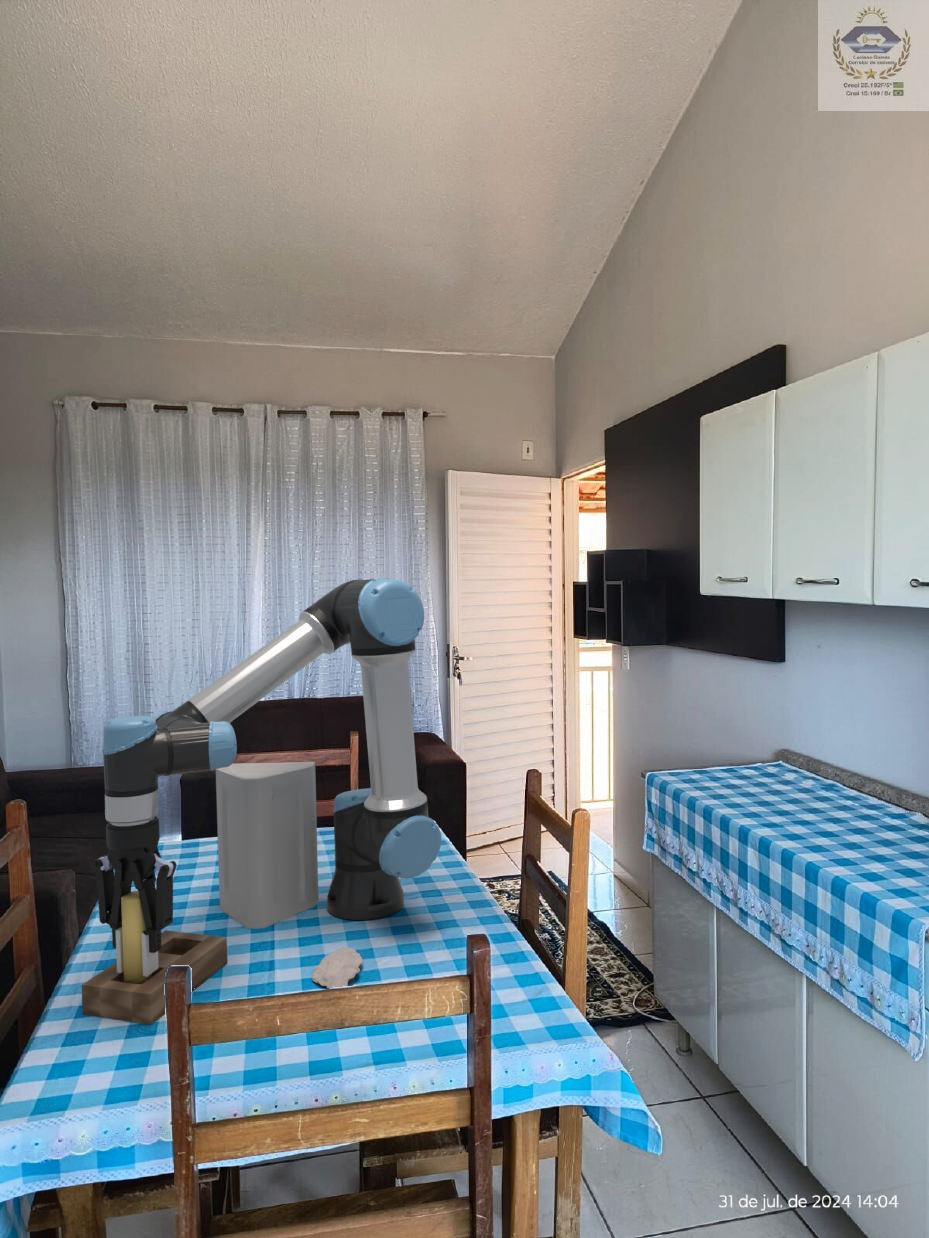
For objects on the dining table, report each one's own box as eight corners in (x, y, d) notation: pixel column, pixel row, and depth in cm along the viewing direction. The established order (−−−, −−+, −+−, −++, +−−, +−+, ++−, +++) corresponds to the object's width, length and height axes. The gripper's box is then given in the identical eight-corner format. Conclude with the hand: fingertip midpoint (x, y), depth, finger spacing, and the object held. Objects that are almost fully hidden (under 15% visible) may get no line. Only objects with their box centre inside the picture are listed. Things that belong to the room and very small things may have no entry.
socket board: (227, 963, 138) (226, 937, 138) (151, 1024, 119) (150, 994, 119) (166, 955, 141) (165, 930, 141) (82, 1014, 122) (81, 984, 122)
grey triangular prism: (203, 930, 152) (199, 780, 151) (225, 899, 167) (221, 763, 166) (306, 927, 152) (302, 778, 151) (319, 897, 167) (315, 761, 166)
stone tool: (364, 996, 126) (361, 960, 141) (364, 976, 126) (362, 942, 141) (310, 998, 125) (313, 961, 140) (311, 978, 125) (314, 943, 140)
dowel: (157, 980, 126) (154, 891, 126) (140, 993, 123) (137, 901, 122) (135, 977, 128) (132, 889, 127) (118, 989, 124) (115, 898, 123)
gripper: (195, 815, 125) (200, 965, 126) (103, 809, 130) (108, 953, 131) (165, 829, 118) (170, 988, 119) (68, 822, 123) (73, 975, 124)
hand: (137, 969), depth 125 cm, fingers closed on dowel, 4 cm apart
